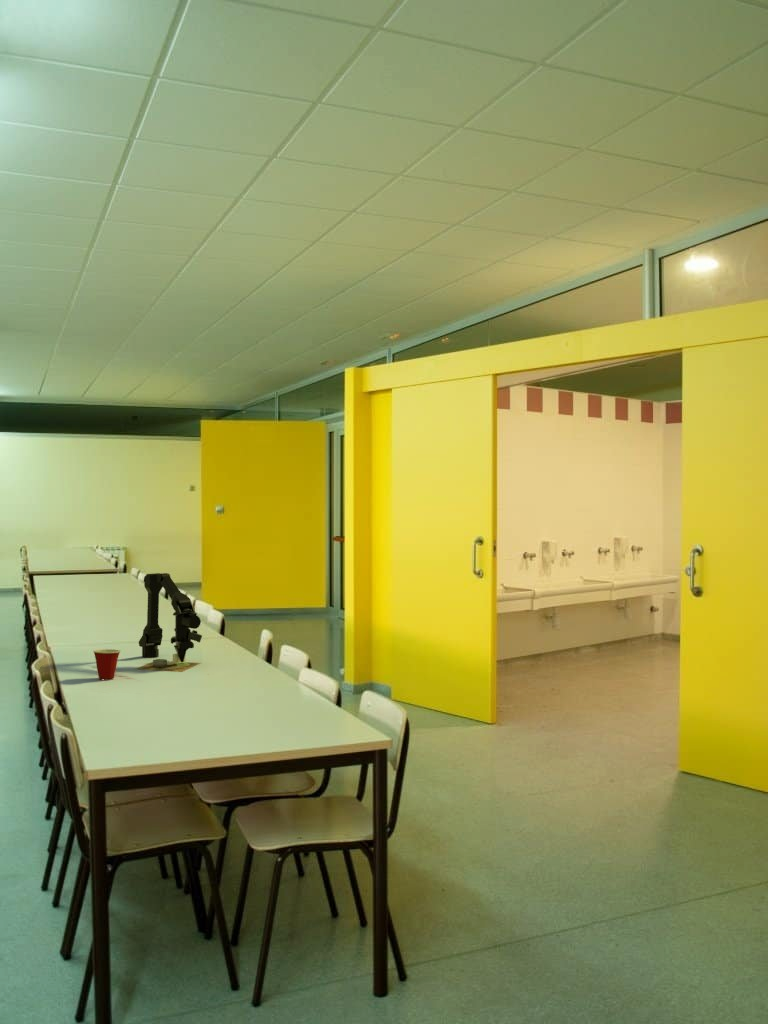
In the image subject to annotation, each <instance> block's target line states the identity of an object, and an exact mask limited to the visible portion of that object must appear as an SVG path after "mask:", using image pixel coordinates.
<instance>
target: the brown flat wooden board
mask: <svg viewBox="0 0 768 1024" xmlns="http://www.w3.org/2000/svg"><path fill="white" fill-rule="evenodd" d="M167 662H170V661H168V660H167ZM200 664H202V662H187V661H186V663H179V664H171V665H167V666H166V667H153V661H151V662H149V663H146V664H144V665H142V666H139V667H136V668H135V670H140V671H141V670H142V671H153V672H154V671H158V672H160V671H161V672H173V673H176V672H177V673H183V672H185V671H187V670H190V669H192V668H195V667H196V666H198V665H200Z"/></svg>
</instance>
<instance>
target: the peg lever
mask: <svg viewBox="0 0 768 1024" xmlns="http://www.w3.org/2000/svg"><path fill="white" fill-rule="evenodd" d="M186 655H187V654H185V658H184V662H181V661H180V659H179V657H178V654H177V653H172V660H171V661H170V662H167V661H168V659H165V658H155V659H153V660H152V662H153V667H166V666H167V665H171V664H179V663H186V662H187V659H186Z"/></svg>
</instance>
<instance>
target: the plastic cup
mask: <svg viewBox="0 0 768 1024" xmlns="http://www.w3.org/2000/svg"><path fill="white" fill-rule="evenodd" d="M121 652H122V651H121V650H120V649H112V648H111V649H109V648H105V649H104V648H103V649H101V648H100V649H99V648H98V649H94V650H93V654H94V658H95V665H96V669H97V671H96V672H97V673H98V679H99V680H100V679H104V680H103V681H106V680H105V679H112V678H114V679H115V676H116V675H115V674H116V671H117V666H118V660H119V659H118V658H119V656H120V653H121ZM112 680H113V679H112Z"/></svg>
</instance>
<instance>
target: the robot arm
mask: <svg viewBox="0 0 768 1024" xmlns="http://www.w3.org/2000/svg"><path fill="white" fill-rule="evenodd" d="M143 583H144V585H143V586H144V588H145V591H146V592H147V613H146V616H147V617H146V618H147V619H146V621H147V622H146V625H145V627H144V628H143V630H142V636H141V637H140V639H139V640H138V646H139V647H141V653H142V655H141V656H142V657H141V658H144V659H158V658H159V656H160V655H159V654H160V653H159V652H160V651H159V648H158V647H159V646H161V645H162V641H163V640H162V639H163V637H164V636H163V628H162V627H161V626H160V625H159V605H160V604H159V603H160V592H161V591H162V589H164V590H165V592H166V593H167V595H168V596H169V598H170V599H171V603H170V604H171V606H172V609H173V610H174V612H173V614H172V615H173V616H175V620H174V622H175V627H174V629H173V630H174V632H175V633H174V634H175V635H174V636H172V637H171V638H170V643H171V644H174V643H175V645H173V647H174V648H173V649H174V650H175V652H176V654H178V657H179V659H180V661H181V662H184V658H185V654H186V653H187V651H188V650H189V649H193V648H194V647H195V643H194V642H193V641H195V642H198V643H201V641H202V637H203V635H202V634H201V633H198V631H197V630H194V629H198V628H199V627H200V626H201V621H202V620H201V618H200V617H199V615H197V614H198V613H197V612H196V608H195V607H194V605H193V603H192V600H191V598H190V597H189V596H188V595H187V594H184V593H183V592H182V591H181V590H180V589H179V587H178V586H177V584H176V583H175V582H174V581H173V579H172V578H171V574H170V573H169V572H164V573H161V572H160V573H159V572H157V573H156V572H155V573H146V575H145V576H144V577H143ZM191 629H193V630H192V631H191ZM186 655H187V654H186Z"/></svg>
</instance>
